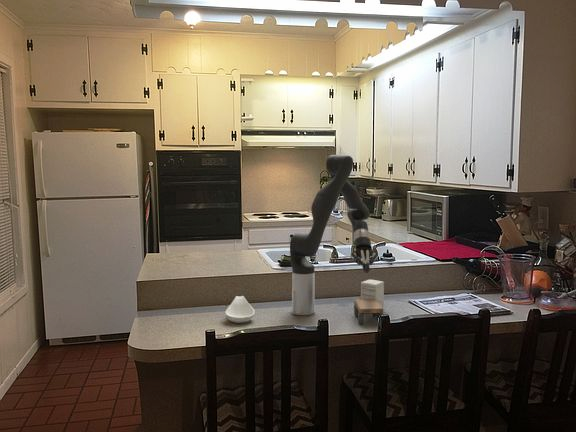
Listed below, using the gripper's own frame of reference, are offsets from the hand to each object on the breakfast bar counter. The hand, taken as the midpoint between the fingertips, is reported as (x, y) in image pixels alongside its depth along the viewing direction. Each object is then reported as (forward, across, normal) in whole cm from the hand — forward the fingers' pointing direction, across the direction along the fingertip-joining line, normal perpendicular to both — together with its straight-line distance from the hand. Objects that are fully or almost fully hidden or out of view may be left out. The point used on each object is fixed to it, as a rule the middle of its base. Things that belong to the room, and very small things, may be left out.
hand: (366, 271), depth 219 cm
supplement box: (+18, 0, +2) cm, 19 cm away
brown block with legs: (+27, -4, -6) cm, 28 cm away
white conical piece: (+22, -55, 0) cm, 60 cm away
